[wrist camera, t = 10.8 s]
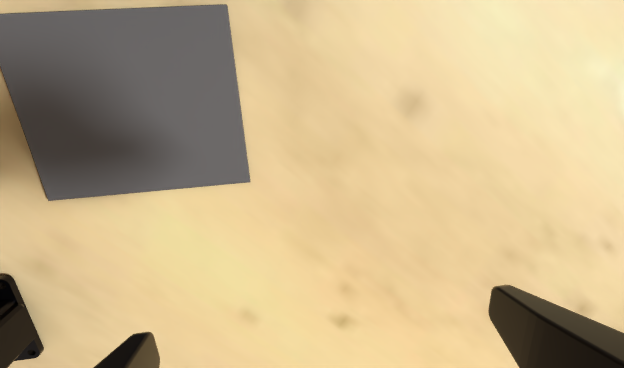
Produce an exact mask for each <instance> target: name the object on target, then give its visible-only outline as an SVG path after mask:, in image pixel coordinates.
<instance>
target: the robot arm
mask: <svg viewBox="0 0 624 368" xmlns="http://www.w3.org/2000/svg"><path fill="white" fill-rule="evenodd" d="M3 283H4V284H5V285H4V284H3ZM489 316H490V319H491V321H492V323H493V324H494V326H495V328H496V329H497V331H498V333H499V334H500V336H501V338H502V339H503V341H504V343H505V344H506V346H507V348H508V350H509V351H510V353H511V355H512V356H513V358H514V360H515V361H516V363H517V365H518V366H519V368H624V333H622V332H620V331H617V330H615V329H613V328H610V327H608V326H606V325H603V324H601V323H598V322H596V321H594V320H591V319H589V318H587V317H584V316H582V315H579V314H577V313H575V312H572V311H570V310H568V309H565V308H563V307H561V306H558V305H556V304H553V303H551V302H549V301H546V300H544V299H542V298H539V297H537V296H534V295H532V294H530V293H527V292H525V291H523V290H520V289H518V288H515V287H513V286H511V285H501V286H495V287H493V289H492V291H491V298H490V304H489ZM43 350H44V347H43V345H42V342H41V340H40V338H39V336H38V333H37V331H36V329H35V326H34V324H33V322H32V319H31V317H30V315H29V313H28V310H27V308H26V306H25V303H24V301H23V299H22V297H21V294H20V292H19V290H18V287H17V285H16V283H15V281H14V279H13V278H11V277H9V276H0V368H8V367H9V366H10V364H11V363H12V362H13V361H17V360H25V359H32V358H37V357H38V356H39V355H40V354H41V353H42V352H43ZM159 365H160V357H159V353H158V349H157V346H156V342H155V339H154V336H153V334H152V333H151V332H143V333H136V334H133V335H132V336H130V337H129V338H128V339H127V340H125V341H124V342H123V343H122V344H121V345H120V346H118V347H117V348H116V349H115V350H114V351H113V352H111V353H110V354H109V355H108V356H107V357H105V358H104V359H103V360H102V361H101V362H100V363H98V364H97V365H96V366H95V367H94V368H159Z"/></svg>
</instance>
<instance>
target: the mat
mask: <svg viewBox="0 0 624 368" xmlns="http://www.w3.org/2000/svg"><path fill="white" fill-rule="evenodd" d="M0 67H1V70H2V73H3V76H4V78H5V81H6V84H7V87H8V89H9V92H10V95H11V98H12V101H13V103H14V106H15V109H16V112H17V115H18V117H19V120H20V123H21V126H22V128H23V131H24V134H25V137H26V140H27V142H28V145H29V148H30V151H31V153H32V156H33V159H34V162H35V165H36V167H37V170H38V173H39V176H40V179H41V181H42V184H43V187H44V190H45V192H46V195H47V198H48V201H52V200H63V199H74V198H85V197H95V196H106V195H117V194H128V193H138V192H149V191H160V190H171V189H181V188H192V187H203V186H214V185H224V184H235V183H246V182H250V175H249V167H248V160H247V152H246V144H245V137H244V129H243V121H242V114H241V106H240V99H239V91H238V83H237V76H236V68H235V60H234V53H233V45H232V38H231V30H230V22H229V15H228V7H227V4H224V5H201V6H177V7H153V8H129V9H105V10H82V11H58V12H34V13H10V14H0Z"/></svg>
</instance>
